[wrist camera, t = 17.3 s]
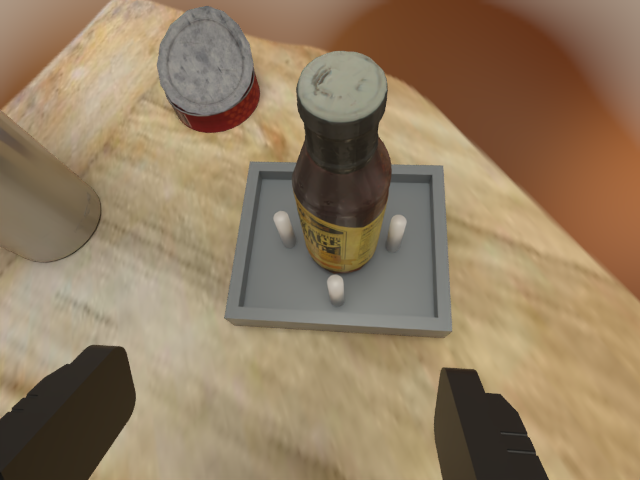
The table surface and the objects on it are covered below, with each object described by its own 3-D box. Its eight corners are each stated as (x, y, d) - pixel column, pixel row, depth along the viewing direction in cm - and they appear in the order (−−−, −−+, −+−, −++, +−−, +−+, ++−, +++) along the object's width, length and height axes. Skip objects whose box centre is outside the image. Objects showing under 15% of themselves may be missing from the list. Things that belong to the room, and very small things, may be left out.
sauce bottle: (294, 235, 37) (237, 61, 18) (352, 202, 37) (353, 4, 19) (332, 294, 34) (310, 162, 16) (393, 257, 35) (438, 91, 17)
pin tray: (234, 325, 35) (210, 308, 29) (256, 178, 41) (240, 138, 35) (443, 337, 33) (463, 322, 28) (436, 182, 39) (451, 142, 33)
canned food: (267, 110, 50) (292, 64, 41) (212, 161, 47) (226, 124, 38) (198, 42, 49) (208, -21, 39) (135, 90, 45) (129, 32, 36)
